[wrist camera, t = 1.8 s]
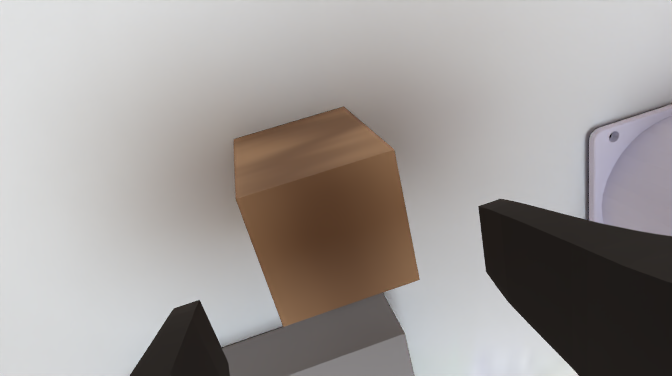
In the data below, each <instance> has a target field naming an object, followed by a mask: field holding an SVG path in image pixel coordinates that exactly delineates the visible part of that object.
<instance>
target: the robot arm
mask: <svg viewBox="0 0 672 376" xmlns="http://www.w3.org/2000/svg"><path fill="white" fill-rule="evenodd" d="M611 133H612V136H611V138H610V139H609V136H610V134H611ZM479 215H480V223H481V232H482V241H483V249H484V258H485V266H486V272H487V274H488V275H489V276H490V278H491V279H492V281H493V282H494V283H495V285H496V286H497V288H498V289H499V290H500V292H501V293H502V294H503V296H504V297H505V298H506V300H507V301H508V302H509V303H510V304H511V305H512V306H513V307H514V309H515V310H516V311H517V312H518V313H519V314H520V315H521V316H522V317H523V318H524V319H525V320H526V321H527V322H528V323H529V324H530V325H531V326H532V327H533V328H534V329H535V330H536V331H537V332H538V333H539V334H540V335H541V337H542V338H543V339H544V340H545V341H546V342H547V343H548V344H549V345H550V346H551V347H552V348H553V349H554V350H555V351H556V352H557V353H558V354H559V355H560V356H561V357H562V358H563V359H564V360H565V361H566V362H567V363H568V364H569V365H570V366H571V367H572V368H573V369H574V370H575V372H576V373H577V374H578V375H579V376H672V104H671V105H668V106H665V107H662V108H659V109H655V110H652V111H649V112H646V113H643V114H640V115H637V116H634V117H631V118H628V119H625V120H621V121H618V122H615V123H612V124H609V125H606V126H603V127H600V128H597V129H596V130H594V131H593V132H592V134H591V136H590V139H589V220H585V219H581V218H577V217H573V216H569V215H565V214H561V213H557V212H554V211H550V210H546V209H542V208H538V207H534V206H531V205H527V204H523V203H518V202H514V201H509V200H504V199H499V200H496V201H493V202H490V203H487V204H484V205H481V206H479ZM130 376H230V372H229V363H228V361H227V359H226V356H225V354H224V352H223V350H222V348H221V346H220V343H219V341H218V339H217V337H216V335H215V333H214V330H213V328H212V326H211V324H210V322H209V320H208V317H207V315H206V313H205V311H204V309H203V306H202V304H201V302H200V300H198V301H195V302H192V303H189V304H186V305H183V306H180V307H177V308H174V309H173V311H172V312H171V313H170V315H169V316H168V318H167V319H166V321H165V322H164V324H163V326H162V327H161V329H160V330H159V332H158V333H157V335H156V336H155V338H154V340H153V341H152V343H151V344H150V346H149V347H148V349H147V350H146V352H145V353H144V355H143V356H142V358H141V359H140V361H139V362H138V364H137V365H136V367H135V368H134V370H133V371H132V373H131V374H130Z"/></svg>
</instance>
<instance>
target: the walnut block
mask: <svg viewBox="0 0 672 376" xmlns="http://www.w3.org/2000/svg"><path fill="white" fill-rule="evenodd" d="M234 166H235V193H236V201H237V204H238V206H239V209H240V212H241V215H242V217H243V220H244V223H245V225H246V228H247V231H248V233H249V236H250V239H251V241H252V244H253V247H254V249H255V252H256V255H257V257H258V260H259V263H260V266H261V268H262V271H263V274H264V276H265V279H266V282H267V284H268V287H269V290H270V292H271V295H272V298H273V300H274V303H275V306H276V308H277V311H278V314H279V317H280V319H281V322H282V325H283V327H285V326H288V325H290V324H293V323H296V322H299V321H302V320H305V319H308V318H311V317H314V316H316V315H319V314H322V313H325V312H328V311H331V310H334V309H337V308H339V307H342V306H345V305H348V304H351V303H354V302H357V301H360V300H363V299H365V298H368V297H371V296H374V295H377V294H380V293H383V292H386V291H388V290H391V289H394V288H397V287H400V286H403V285H406V284H409V283H412V282H414V281H417V280H420V279H419V274H418V269H417V264H416V259H415V254H414V248H413V243H412V238H411V233H410V228H409V223H408V218H407V212H406V207H405V202H404V197H403V192H402V187H401V182H400V176H399V171H398V166H397V161H396V156H395V151H394V149H393V148H392V147H391V146H389V145H388V144H387V143H386V142H385V141H384V140H382V139H381V138H380V137H379V136H378V135H376V134H375V133H374V132H373V131H372V130H371V129H369V128H368V127H367V126H366V125H365V124H364V123H362V122H361V121H360V120H359V119H358V118H357V117H355V116H354V115H353V114H352V113H351V112H349V111H348V110H347V109H346V108H345V107H341V108H337V109H334V110H331V111H327V112H324V113H320V114H317V115H314V116H310V117H307V118H304V119H300V120H297V121H293V122H290V123H287V124H283V125H280V126H277V127H273V128H270V129H266V130H263V131H260V132H256V133H253V134H250V135H246V136H243V137H239V138H236V139H234Z"/></svg>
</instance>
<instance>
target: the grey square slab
mask: <svg viewBox="0 0 672 376" xmlns="http://www.w3.org/2000/svg"><path fill="white" fill-rule="evenodd" d="M222 350H223V352H224V354H225V356H226V359H227V361H228V363H229V372H230V376H414V372H413V368H412V363H411V359H410V354H409V350H408V346H407V341H406V337H405V333H404V331H403V329H402V327H401V326H400V324H399V322H398V320H397V318H396V316H395V315H394V313H393V311H392V309H391V307H390V305H389V304H388V302H387V300H386V298H385V296H384V294H383V293H380V294H377V295H374V296H371V297H368V298H365V299H363V300H360V301H357V302H354V303H351V304H348V305H345V306H342V307H339V308H337V309H334V310H331V311H328V312H325V313H322V314H319V315H316V316H314V317H311V318H308V319H305V320H302V321H299V322H296V323H293V324H290V325H288V326H285V327H281V328H278V329H275V330H273V331H270V332H267V333H264V334H261V335H258V336H255V337H252V338H250V339H247V340H244V341H241V342H238V343H235V344H232V345H229V346H227V347H224V348H222Z"/></svg>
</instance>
